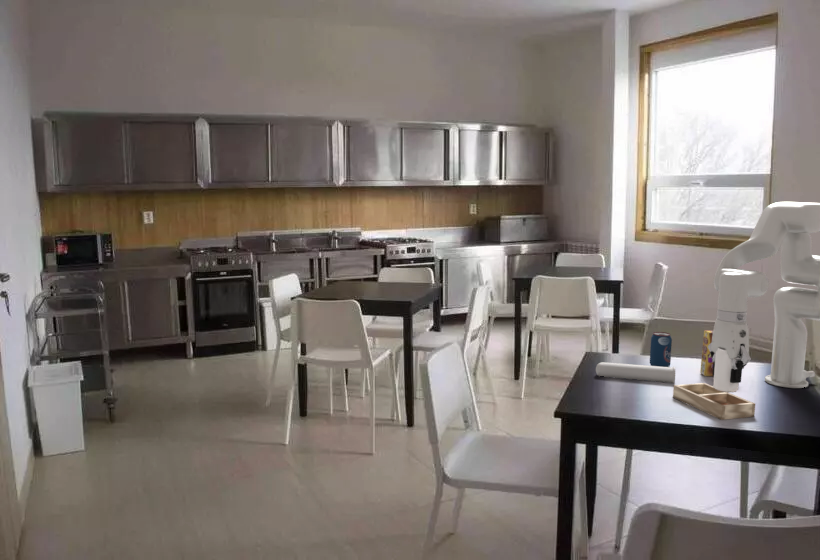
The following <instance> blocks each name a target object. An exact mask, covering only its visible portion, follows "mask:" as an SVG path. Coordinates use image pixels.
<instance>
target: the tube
mask: <svg viewBox="0 0 820 560" xmlns="http://www.w3.org/2000/svg"><path fill="white" fill-rule="evenodd" d="M595 372H596V375H597V376H598V377H600V376H604V377H603V378H609V377H615V378H614V379H621V378H626V379H625V380H632V379H637V380H636V381H644V380H648V381H647V382H655V381H656V382H657V383H665V384H666V383H668V384H669V383H670V384H676V367H675V366H671V367H670V366H669V367H660V366H651V365H645V364H644V365H643V364H631V363H629V364H628V363H619V362H617V363H615V362H607V361H606V362H603V361H602V362H599V363H598V364H596V367H595Z"/></svg>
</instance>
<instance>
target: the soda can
mask: <svg viewBox="0 0 820 560" xmlns="http://www.w3.org/2000/svg"><path fill="white" fill-rule="evenodd" d="M672 341H673V339H672V336H671V333H669V332H666V331H654V332H653V333H652V335H651V337H650V348H649V349H650V350H649V364H650V366H660V367H670V366H671V360H672V343H673V342H672Z"/></svg>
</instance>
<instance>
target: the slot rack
mask: <svg viewBox="0 0 820 560" xmlns="http://www.w3.org/2000/svg"><path fill="white" fill-rule="evenodd" d="M672 398H673V399H675V400H677V401H680V402H681V403H684V404H686V405H688V406H690V407H693V408H694V409H697V410H699V411H701V412H704V413H706V414H707V415H710V416H712V417H714V418H716V419H718V420H721V421H723V420H734V419H735V420H736V419H744V418H754V417H755V414H756V413H755V411H756V403H755V402H752V401H750V400H748V399H744V398H743V397H740V396H738V395H736V394H733V393H732V392H722V391H718V390H716V389H714V387H713V385H711V384H708V383H706V382H699V383H698V382H697V383H687V384H674V385H673V390H672Z"/></svg>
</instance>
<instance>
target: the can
mask: <svg viewBox="0 0 820 560" xmlns="http://www.w3.org/2000/svg"><path fill="white" fill-rule="evenodd" d="M737 357H739V355H737ZM738 362H739V360H736V363H738ZM731 369H733V366H732V359H731V358H729V355H728V354H727V352H726V349H721V348H719V347H718V350H717V351H716V357H715V369H714V376H713V384H712V386H713V387H714V389H716V390H718V391H722V392H728V393H736V392H737V391H738V390H739V383H731V382H730V375H731Z"/></svg>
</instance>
